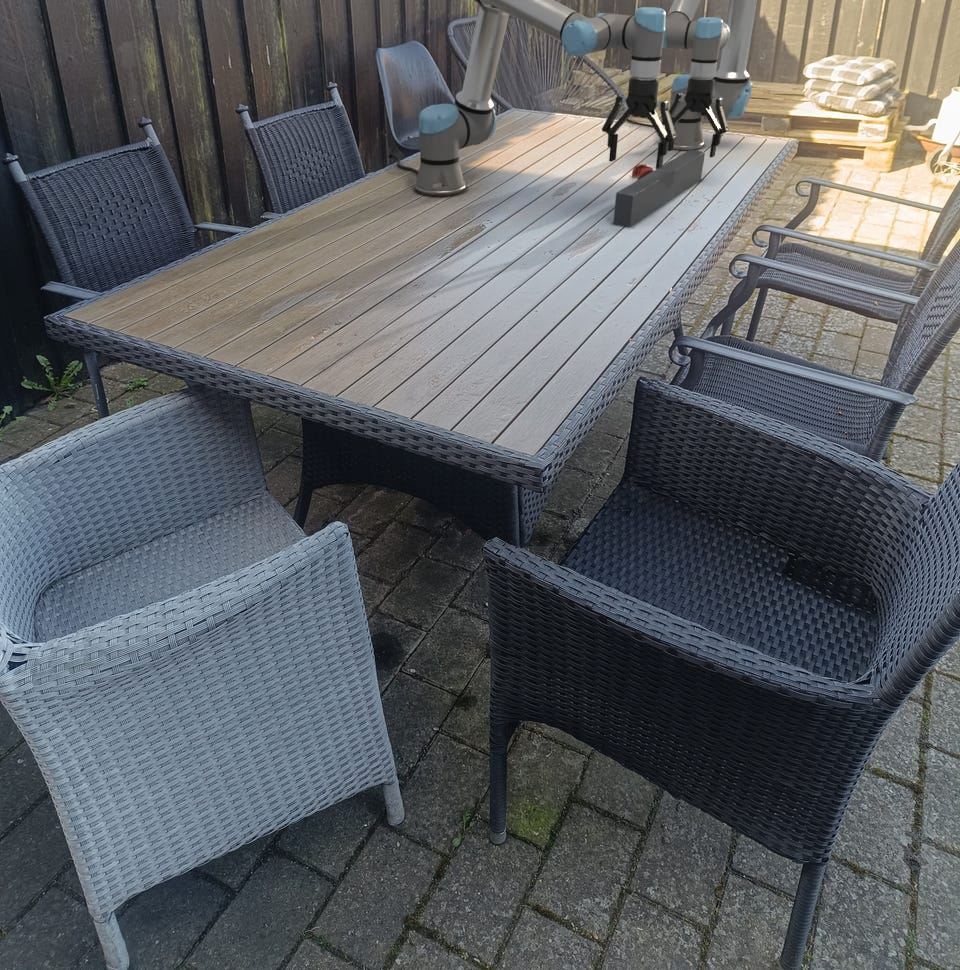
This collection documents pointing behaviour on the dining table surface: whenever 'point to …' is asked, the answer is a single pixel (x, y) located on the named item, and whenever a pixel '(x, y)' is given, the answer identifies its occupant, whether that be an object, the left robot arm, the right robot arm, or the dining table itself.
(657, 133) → the left robot arm
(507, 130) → the dining table surface
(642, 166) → the red irregular lump
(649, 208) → the post
